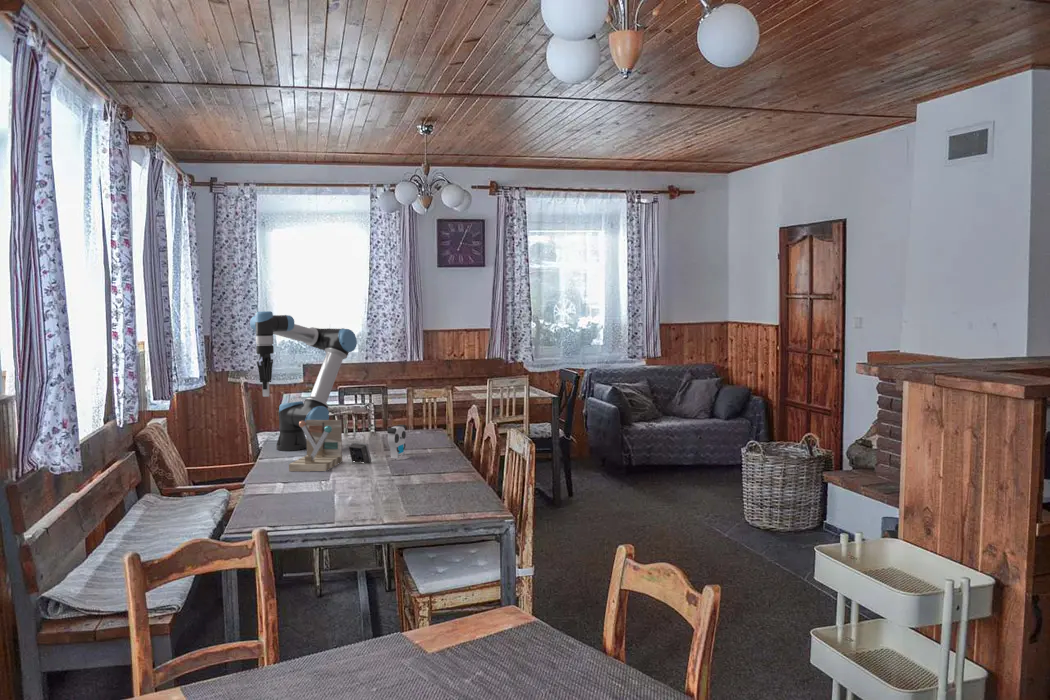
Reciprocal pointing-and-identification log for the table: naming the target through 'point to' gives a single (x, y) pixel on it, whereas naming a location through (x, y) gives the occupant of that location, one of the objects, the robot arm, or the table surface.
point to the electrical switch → (359, 452)
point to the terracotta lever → (308, 434)
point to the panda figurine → (396, 440)
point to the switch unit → (329, 449)
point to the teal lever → (320, 442)
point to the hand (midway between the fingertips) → (266, 396)
